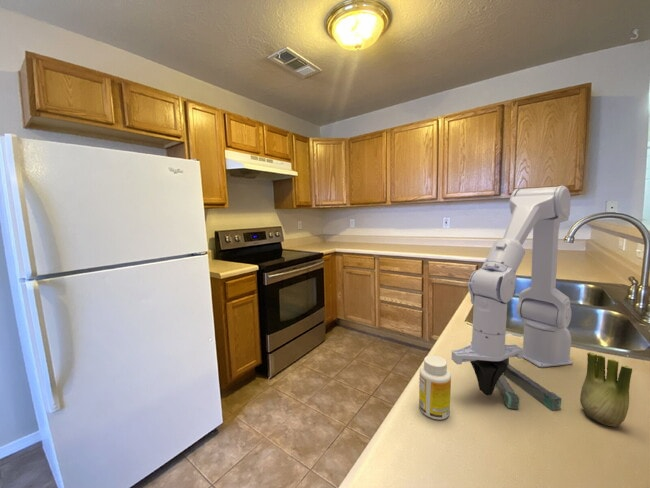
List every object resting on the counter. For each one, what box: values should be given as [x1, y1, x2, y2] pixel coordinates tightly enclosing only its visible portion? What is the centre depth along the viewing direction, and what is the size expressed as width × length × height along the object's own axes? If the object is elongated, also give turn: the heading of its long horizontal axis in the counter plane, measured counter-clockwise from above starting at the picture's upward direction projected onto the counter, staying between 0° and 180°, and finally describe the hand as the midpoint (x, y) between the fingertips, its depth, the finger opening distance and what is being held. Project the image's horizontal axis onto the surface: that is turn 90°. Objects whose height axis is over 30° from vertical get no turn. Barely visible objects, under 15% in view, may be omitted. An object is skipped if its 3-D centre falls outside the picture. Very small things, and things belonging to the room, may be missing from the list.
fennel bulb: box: [579, 351, 633, 427], centre depth 50 cm, size 6×5×12 cm
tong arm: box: [495, 374, 520, 410], centre depth 59 cm, size 2×12×2 cm, turn 166°
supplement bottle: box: [418, 355, 452, 420], centre depth 53 cm, size 6×6×10 cm
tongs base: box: [503, 363, 562, 412], centre depth 60 cm, size 4×15×2 cm, turn 8°
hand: (485, 392), depth 57 cm, fingers closed
